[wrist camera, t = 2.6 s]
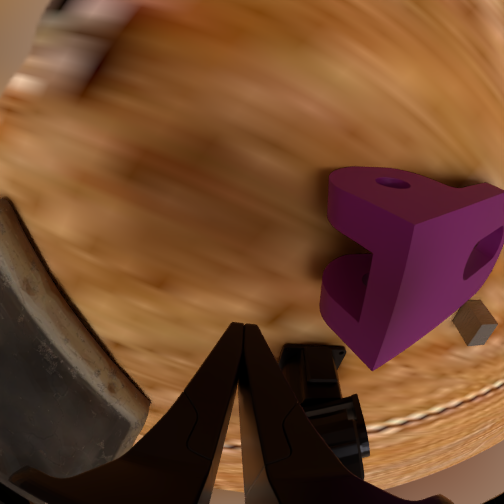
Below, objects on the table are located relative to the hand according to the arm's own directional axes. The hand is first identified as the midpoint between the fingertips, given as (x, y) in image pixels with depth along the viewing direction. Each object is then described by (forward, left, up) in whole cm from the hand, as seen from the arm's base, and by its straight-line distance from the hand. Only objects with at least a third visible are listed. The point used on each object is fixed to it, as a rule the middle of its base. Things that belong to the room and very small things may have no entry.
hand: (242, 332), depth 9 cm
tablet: (-18, +21, -13) cm, 30 cm away
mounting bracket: (0, -14, -13) cm, 19 cm away
